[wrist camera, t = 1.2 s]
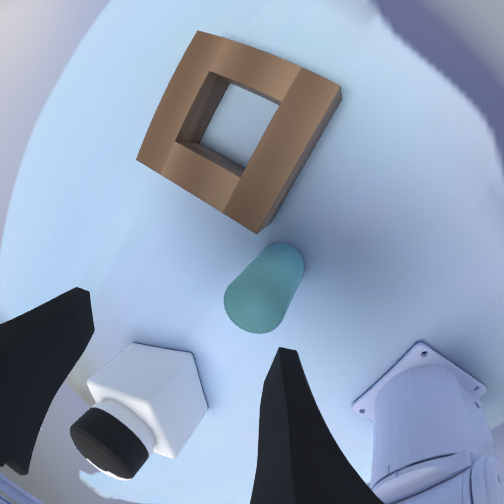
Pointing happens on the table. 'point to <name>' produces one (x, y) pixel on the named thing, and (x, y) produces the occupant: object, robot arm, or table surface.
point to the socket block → (271, 144)
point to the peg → (265, 289)
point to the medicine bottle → (140, 409)
